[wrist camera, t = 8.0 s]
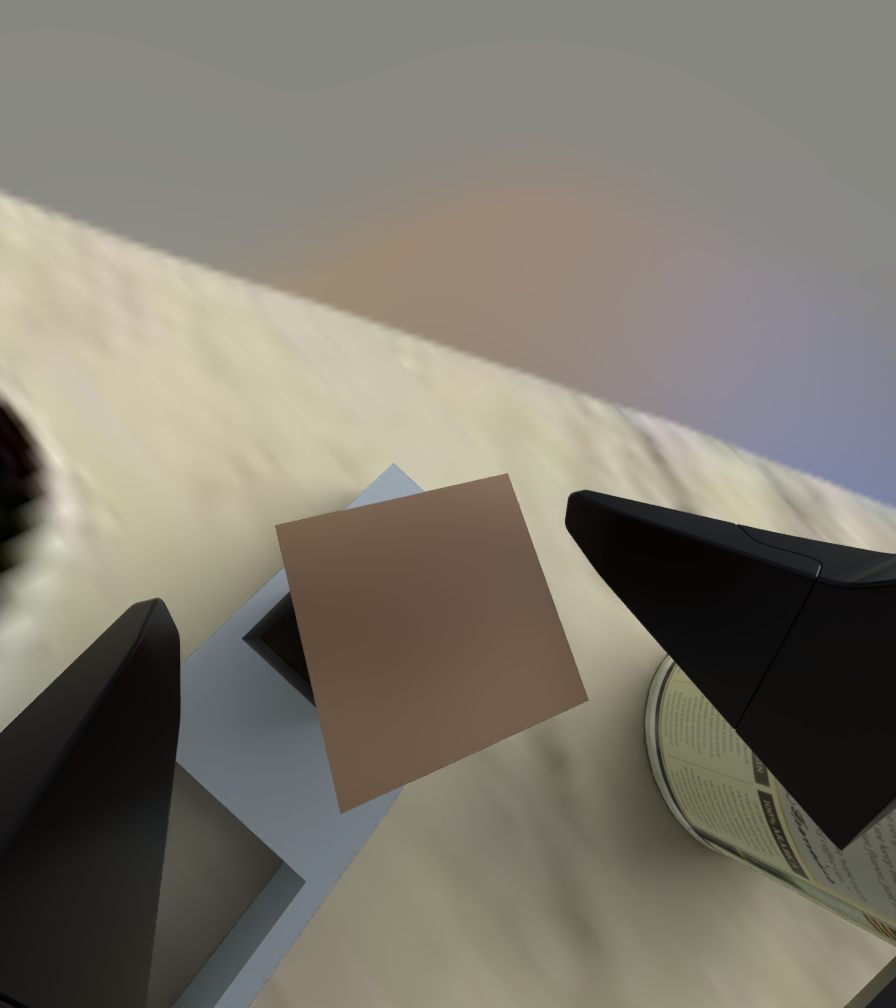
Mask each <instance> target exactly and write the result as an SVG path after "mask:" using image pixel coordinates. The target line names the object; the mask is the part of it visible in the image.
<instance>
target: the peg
mask: <svg viewBox="0 0 896 1008" xmlns="http://www.w3.org/2000/svg"><path fill="white" fill-rule="evenodd" d="M275 527H276V531H277V536H278V540H279V545H280V549H281V553H282V558H283V562H284V567H285V571H286V575H287V580H288V584H289V589H290V593H291V598H292V602H293V606H294V611H295V615H296V620H297V624H298V628H299V633H300V637H301V642H302V646H303V651H304V655H305V659H306V664H307V668H308V673H309V677H310V682H311V686H312V690H313V695H314V699H315V704H316V708H317V712H318V717H319V721H320V726H321V730H322V735H323V739H324V743H325V748H326V752H327V757H328V761H329V765H330V770H331V774H332V779H333V783H334V788H335V792H336V796H337V801H338V805H339V810H340V814H342V813H344V812H347V811H349V810H351V809H353V808H355V807H358V806H360V805H362V804H364V803H366V802H368V801H371V800H373V799H375V798H377V797H379V796H381V795H384V794H386V793H388V792H390V791H392V790H395V789H397V788H399V787H401V786H403V785H405V784H408V783H410V782H412V781H414V780H416V779H419V778H421V777H423V776H425V775H427V774H429V773H432V772H434V771H436V770H438V769H440V768H442V767H445V766H447V765H449V764H451V763H453V762H456V761H458V760H460V759H462V758H464V757H466V756H469V755H471V754H473V753H475V752H477V751H480V750H482V749H484V748H486V747H488V746H490V745H493V744H495V743H497V742H499V741H501V740H503V739H506V738H508V737H510V736H512V735H514V734H517V733H519V732H521V731H523V730H525V729H527V728H530V727H532V726H534V725H536V724H538V723H540V722H543V721H545V720H547V719H549V718H551V717H554V716H556V715H558V714H560V713H562V712H564V711H567V710H569V709H571V708H573V707H575V706H578V705H580V704H582V703H584V702H586V701H588V697H587V695H586V692H585V689H584V686H583V683H582V680H581V678H580V675H579V672H578V669H577V666H576V664H575V661H574V658H573V655H572V652H571V650H570V647H569V644H568V641H567V638H566V636H565V633H564V630H563V627H562V624H561V622H560V619H559V616H558V613H557V610H556V608H555V605H554V602H553V599H552V596H551V593H550V591H549V588H548V585H547V582H546V579H545V577H544V574H543V571H542V568H541V565H540V563H539V560H538V557H537V554H536V551H535V549H534V546H533V543H532V540H531V537H530V535H529V532H528V529H527V526H526V523H525V521H524V518H523V515H522V512H521V509H520V506H519V504H518V501H517V498H516V495H515V492H514V490H513V487H512V484H511V481H510V478H509V476H508V473H507V474H502V475H498V476H493V477H489V478H485V479H480V480H476V481H471V482H467V483H462V484H458V485H453V486H449V487H445V488H440V489H436V490H431V491H427V492H422V493H418V494H413V495H409V496H404V497H400V498H396V499H391V500H387V501H382V502H378V503H373V504H369V505H364V506H360V507H356V508H351V509H347V510H342V511H338V512H333V513H329V514H324V515H320V516H316V517H311V518H307V519H302V520H298V521H293V522H289V523H284V524H280V525H275Z"/></svg>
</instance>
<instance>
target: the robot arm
mask: <svg viewBox="0 0 896 1008" xmlns="http://www.w3.org/2000/svg"><path fill="white" fill-rule="evenodd" d="M565 525H566V528H567V530H568V532H569V533H570V535H571V536H572V538H573V539H574V540H575V542H576V543H577V545H578V546H579V547H580V549H581V550H582V552H583V553H584V554H585V556H586V557H587V559H588V560H589V562H590V563H591V564H592V566H593V567H594V569H595V570H596V571H597V573H598V574H599V575H600V576H601V578H602V579H603V580H604V581H605V582H606V584H607V585H608V586H609V587H610V588H611V589H612V590H613V592H614V593H615V594H616V595H617V596H618V597H619V598H620V600H621V601H622V602H623V603H624V604H625V605H626V607H627V608H628V609H629V610H630V611H631V612H632V613H633V615H634V616H635V617H636V618H637V619H638V620H639V621H640V623H641V624H642V625H643V626H644V627H645V628H646V629H647V631H648V632H649V633H650V634H651V635H652V636H653V638H654V639H655V640H656V641H657V642H658V643H659V644H660V646H661V647H662V648H663V649H664V650H665V651H666V652H667V654H668V655H669V656H670V657H671V658H672V659H673V660H674V662H675V663H676V664H677V665H678V666H679V667H680V669H681V670H682V671H683V672H684V673H685V674H686V675H687V677H688V678H689V679H690V680H691V681H692V682H693V683H694V685H695V686H696V687H697V688H698V689H699V690H700V691H701V693H702V694H703V695H704V696H705V697H706V698H707V700H708V701H709V702H710V703H711V704H712V705H713V706H714V708H715V709H716V710H717V711H718V712H719V713H720V714H721V716H722V717H723V718H724V719H725V720H726V721H727V722H728V724H729V725H730V726H731V727H732V728H733V729H736V730H735V732H736V733H737V734H738V736H739V737H740V738H741V739H742V740H743V741H744V742H745V744H746V745H747V746H748V747H749V748H750V749H751V750H752V752H753V753H754V754H755V755H756V756H757V757H758V759H759V760H760V761H761V762H762V763H763V764H764V765H765V767H766V768H767V769H768V770H769V771H770V772H771V773H772V775H773V776H774V777H775V778H776V779H777V780H778V782H779V783H780V784H781V785H782V786H783V787H784V788H785V790H786V791H787V792H788V793H789V794H790V795H791V796H792V798H793V799H794V800H795V801H796V802H797V803H798V805H799V806H800V807H801V808H802V809H803V810H804V811H805V813H806V814H807V815H808V816H809V817H810V818H811V819H812V821H813V822H814V823H815V824H816V825H817V826H818V828H819V829H820V830H821V831H822V832H823V833H824V834H825V836H826V837H827V838H828V839H829V840H830V841H831V842H832V843H833V844H834V845H835V846H836V847H837V848H838V849H839V850H841V851H843V850H844V849H845V848H847V847H848V846H849V845H850V844H852V843H853V842H854V841H855V840H857V839H858V838H859V837H861V836H862V835H863V834H864V833H866V832H867V831H868V830H869V829H871V828H872V827H873V826H874V825H876V824H877V823H878V822H880V821H881V820H882V819H883V818H885V817H886V816H887V815H888V814H890V813H891V812H892V811H894V810H895V809H896V554H890V553H883V552H876V551H871V550H865V549H860V548H855V547H849V546H844V545H838V544H833V543H828V542H822V541H817V540H811V539H806V538H801V537H796V536H791V535H786V534H781V533H776V532H771V531H767V530H762V529H757V528H753V527H749V526H744V525H740V524H737V525H736V524H734V523H731V522H726V521H722V520H717V519H713V518H709V517H704V516H700V515H695V514H691V513H687V512H682V511H678V510H673V509H669V508H665V507H660V506H656V505H651V504H647V503H642V502H638V501H634V500H629V499H625V498H620V497H616V496H612V495H607V494H603V493H598V492H594V491H590V490H581V491H577V492H573V493H571V494H570V495H569V497H568V502H567V509H566V517H565ZM180 718H181V679H180V638H179V633H178V630H177V627H176V625H175V623H174V621H173V619H172V617H171V615H170V613H169V611H168V609H167V607H166V605H165V603H164V601H163V600H162V599H160V598H154V599H150V600H146V601H142V602H138V603H135V604H133V605H132V606H131V607H130V608H129V609H128V610H127V611H126V612H124V613H123V614H122V615H121V616H120V617H119V618H118V619H117V620H116V621H115V622H114V623H113V624H112V625H111V626H110V627H109V628H108V629H107V630H106V631H105V632H104V633H103V634H102V635H101V636H100V637H99V638H98V639H97V640H96V641H95V642H94V643H93V644H92V645H91V646H89V647H88V648H87V649H86V650H85V651H84V652H83V653H82V654H81V655H80V656H79V657H78V658H77V659H76V660H75V661H74V662H73V663H72V664H71V665H70V666H69V667H68V668H67V669H66V670H65V671H64V672H63V673H62V674H61V675H60V676H59V677H58V678H57V679H56V680H54V681H53V682H52V683H51V684H50V685H49V686H48V687H47V688H46V689H45V690H44V691H43V692H42V693H41V694H40V695H39V696H38V697H37V698H36V699H35V700H34V701H33V702H32V703H31V704H30V705H29V706H28V707H27V708H26V709H25V710H24V711H23V712H22V713H21V714H19V715H18V716H17V717H16V718H15V719H14V720H13V721H12V722H11V723H10V724H9V725H8V726H7V727H6V728H5V729H4V730H3V731H2V732H1V733H0V1008H146V1002H147V994H148V985H149V977H150V969H151V961H152V952H153V944H154V936H155V928H156V919H157V911H158V903H159V895H160V886H161V878H162V870H163V862H164V853H165V845H166V837H167V829H168V820H169V812H170V804H171V796H172V787H173V779H174V771H175V763H176V754H177V746H178V738H179V730H180ZM844 1008H896V956H895V957H894V958H893V959H892V960H891V961H890V962H889V963H888V964H887V965H886V966H885V967H884V968H883V969H882V970H881V971H880V972H879V973H878V974H877V975H876V976H875V977H874V978H873V979H872V980H871V981H870V982H869V983H868V984H867V985H866V986H865V987H864V988H863V989H862V990H861V991H860V992H859V993H858V994H857V995H856V996H855V997H854V998H853V999H852V1000H851V1001H850V1002H849V1003H848V1004H847V1005H846V1006H845V1007H844Z"/></svg>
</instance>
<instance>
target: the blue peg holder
mask: <svg viewBox="0 0 896 1008" xmlns="http://www.w3.org/2000/svg"><path fill="white" fill-rule="evenodd" d="M422 492H425V491H424V490H423V489H421V488H420V487H419V486H418V485H417V484H416V483H415V482H414V481H413V480H412V479H411V478H409V477H408V476H407V475H406V474H405V473H404V472H403V471H402V470H401V469H400V468H399V467H398V466H396V465H395V464H394V463H393V464H392V465H391V466H390V467H389V468H388V469H387V470H386V471H385V472H383V473H382V474H381V475H380V476H379V477H378V478H377V479H376V480H375V481H374V482H373V483H372V484H371V485H370V486H369V487H368V488H367V489H366V490H364V491H363V492H362V493H361V494H360V495H359V496H358V497H357V498H356V499H355V500H354V501H353V502H352V503H351V504H350V505H349V506H348V507H347V508H346V509H344V510H347V509H351V508H356V507H360V506H364V505H369V504H373V503H378V502H382V501H387V500H391V499H396V498H400V497H404V496H409V495H413V494H418V493H422ZM292 605H293V602H292V598H291V593H290V589H289V584H288V580H287V575H286V571H285V567H283V568H282V569H281V570H280V571H279V572H278V573H277V574H276V575H275V576H274V577H273V578H272V579H271V580H270V581H269V582H268V583H267V584H265V585H264V586H263V587H262V588H261V589H260V590H259V591H258V592H257V593H256V594H255V595H254V596H253V597H252V598H251V599H250V600H249V601H248V602H246V603H245V604H244V605H243V606H242V607H241V608H240V609H239V610H238V611H237V612H236V613H235V614H234V615H233V616H232V617H231V618H230V619H229V620H228V621H226V622H225V623H224V624H223V625H222V626H221V627H220V628H219V629H218V630H217V631H216V632H215V633H214V634H213V635H212V636H211V637H210V638H209V639H208V640H206V641H205V642H204V643H203V644H202V645H201V646H200V647H199V648H198V649H197V650H196V651H195V652H194V653H193V654H192V655H191V656H190V657H189V658H187V659H186V660H185V661H184V662H183V663H182V664H181V665H180V679H181V718H180V730H179V738H178V746H177V754H176V762H177V763H178V764H179V765H181V766H182V767H183V768H184V769H185V770H186V771H187V772H188V773H189V774H190V775H191V776H192V777H194V778H195V779H196V780H197V781H198V782H199V783H200V784H201V785H202V786H203V787H204V788H205V789H207V790H208V791H209V792H210V793H211V794H212V795H213V796H214V797H215V798H216V799H217V800H218V801H220V802H221V803H222V804H223V805H224V806H225V807H226V808H227V809H228V810H229V811H230V812H231V813H233V814H234V815H235V816H236V817H237V818H238V819H239V820H240V821H241V822H242V823H243V824H244V825H245V826H247V827H248V828H249V829H250V830H251V831H252V832H253V833H254V834H255V835H256V836H257V837H258V838H260V839H261V840H262V841H263V842H264V843H265V844H266V845H267V846H268V847H269V848H270V849H271V850H273V851H274V852H275V853H276V854H277V855H278V856H279V857H280V858H281V859H282V860H283V861H284V862H283V864H282V865H281V866H280V868H279V869H278V870H277V871H276V873H275V874H274V875H273V877H272V878H271V879H270V881H269V882H268V883H267V884H266V886H265V887H264V888H263V890H262V891H261V892H260V894H259V895H258V896H257V897H256V899H255V900H254V901H253V903H252V904H251V905H250V907H249V908H248V909H247V910H246V912H245V913H244V914H243V916H242V917H241V918H240V919H239V921H238V922H237V923H236V925H235V926H234V927H233V929H232V930H231V931H230V932H229V934H228V935H227V936H226V938H225V939H224V940H223V942H222V943H221V944H220V945H219V947H218V948H217V949H216V951H215V952H214V953H213V955H212V956H211V957H210V958H209V960H208V961H207V962H206V964H205V965H204V966H203V967H202V969H201V970H200V971H199V973H198V974H197V975H196V977H195V978H194V979H193V980H192V982H191V983H190V984H189V986H188V987H187V988H186V990H185V991H184V992H183V993H182V995H181V996H180V997H179V999H178V1000H177V1001H176V1003H175V1004H174V1005H173V1006H172V1008H248V1007H249V1005H250V1004H251V1003H252V1001H253V1000H254V998H255V997H256V996H257V994H258V993H259V991H260V990H261V988H262V987H263V986H264V984H265V983H266V981H267V980H268V979H269V977H270V976H271V974H272V973H273V972H274V970H275V969H276V967H277V966H278V965H279V963H280V962H281V960H282V959H283V957H284V956H285V955H286V953H287V952H288V950H289V949H290V948H291V946H292V945H293V943H294V942H295V941H296V939H297V938H298V936H299V935H300V934H301V932H302V931H303V929H304V928H305V926H306V925H307V924H308V922H309V921H310V919H311V918H312V917H313V915H314V914H315V912H316V911H317V910H318V908H319V907H320V905H321V904H322V903H323V901H324V900H325V898H326V897H327V895H328V894H329V893H330V891H331V890H332V888H333V887H334V886H335V884H336V883H337V881H338V880H339V879H340V877H341V876H342V874H343V873H344V872H345V870H346V869H347V867H348V866H349V864H350V863H351V862H352V860H353V859H354V857H355V856H356V855H357V853H358V852H359V850H360V849H361V848H362V846H363V845H364V843H365V842H366V841H367V839H368V838H369V836H370V835H371V833H372V832H373V831H374V829H375V828H376V826H377V825H378V824H379V822H380V821H381V819H382V818H383V817H384V815H385V814H386V812H387V811H388V810H389V808H390V807H391V805H392V804H393V802H394V801H395V800H396V798H397V797H398V795H399V794H400V793H401V791H402V790H403V788H404V787H405V786H406V784H405V785H403V786H401V787H399V788H397V789H395V790H392V791H390V792H388V793H386V794H384V795H381V796H379V797H377V798H375V799H373V800H371V801H368V802H366V803H364V804H362V805H360V806H358V807H355V808H353V809H351V810H349V811H347V812H344V813H342V814H340V810H339V805H338V801H337V796H336V792H335V788H334V783H333V779H332V774H331V770H330V765H329V761H328V757H327V752H326V748H325V743H324V739H323V735H322V730H321V726H320V721H319V717H318V712H317V708H316V704H315V699H314V695H313V690H312V687H311V686H310V685H309V684H308V683H307V682H306V681H305V680H304V679H303V678H302V677H300V676H299V675H298V674H297V673H296V672H295V671H294V670H293V669H292V668H291V667H290V666H289V665H287V664H286V663H285V662H284V661H283V660H282V659H281V658H280V657H279V656H278V655H277V654H276V653H274V652H273V651H272V650H271V649H270V648H269V647H268V646H267V645H266V644H265V643H264V642H263V641H261V640H260V639H259V638H260V637H261V636H262V635H263V634H264V633H265V632H266V631H267V630H268V629H269V628H270V627H271V626H272V625H273V624H274V623H275V622H276V621H277V620H278V619H279V618H280V617H281V616H282V615H283V614H284V613H285V612H286V611H287V610H288V609H289V608H290V607H291V606H292Z"/></svg>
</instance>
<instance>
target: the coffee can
mask: <svg viewBox="0 0 896 1008" xmlns="http://www.w3.org/2000/svg"><path fill="white" fill-rule="evenodd" d="M735 730H736V729H733V728H732V727H731V726H730V725H729V724H728V722H727V721H726V720H725V719H724V718H723V717H722V716H721V714H720V713H719V712H718V711H717V710H716V709H715V708H714V706H713V705H712V704H711V703H710V702H709V701H708V700H707V698H706V697H705V696H704V695H703V694H702V693H701V691H700V690H699V689H698V688H697V687H696V686H695V685H694V683H693V682H692V681H691V680H690V679H689V678H688V677H687V675H686V674H685V673H684V672H683V671H682V670H681V669H680V667H679V666H678V665H677V664H676V663H675V662H674V660H673V659H672V658H671V657H670V656H669V655H668V656H667V657H666V659H665V660H664V661H663V662H662V664H661V666H660V667H659V669H658V671H657V673H656V675H655V677H654V679H653V681H652V683H651V687H650V690H649V696H648V702H647V706H646V715H645V731H646V743H647V750H648V755H649V760H650V763H651V767H652V771H653V775H654V778H655V780H656V782H657V784H658V786H659V789H660V791H661V793H662V795H663V798H664V799H665V801H666V803H667V805H668V806H669V808H670V810H671V812H672V813H673V814H674V816H675V817H676V819H677V820H678V821H679V822H680V823H681V825H682V826H683V827H684V828H685V829H686V830H687V831H688V832H689V833H690V834H691V835H692V836H693V837H694V838H696V839H697V840H698V841H699V842H701V843H702V844H703V845H704V846H706V847H708V848H710V849H712V850H714V851H716V852H719V853H721V854H724V855H727V856H729V857H731V858H733V859H735V860H737V861H739V862H740V863H742V864H744V865H746V866H748V867H750V868H751V869H753V870H755V871H757V872H759V873H761V874H763V875H764V876H766V877H768V878H770V879H772V880H774V881H776V882H777V883H779V884H781V885H783V886H785V887H787V888H788V889H790V890H792V891H794V892H796V893H798V894H799V895H801V896H803V897H805V898H807V899H809V900H811V901H812V902H814V903H816V904H818V905H820V906H822V907H823V908H825V909H827V910H829V911H831V912H833V913H834V914H836V915H838V916H840V917H842V918H844V919H845V920H847V921H849V922H851V923H853V924H855V925H856V926H858V927H860V928H862V929H864V930H866V931H868V932H869V933H871V934H873V935H875V936H877V937H879V938H880V939H882V940H884V941H886V942H888V943H890V944H891V945H893V946H895V947H896V809H895V810H894V811H892V812H891V813H890V814H888V815H887V816H886V817H885V818H883V819H882V820H881V821H880V822H878V823H877V824H876V825H874V826H873V827H872V828H871V829H869V830H868V831H867V832H866V833H864V834H863V835H862V836H861V837H859V838H858V839H857V840H855V841H854V842H853V843H852V844H850V845H849V846H848V847H847V848H845V849H844V850H843V851H841V850H839V849H838V848H837V847H836V846H835V845H834V844H833V843H832V842H831V841H830V840H829V839H828V838H827V837H826V836H825V834H824V833H823V832H822V831H821V830H820V829H819V828H818V826H817V825H816V824H815V823H814V822H813V821H812V819H811V818H810V817H809V816H808V815H807V814H806V813H805V811H804V810H803V809H802V808H801V807H800V806H799V805H798V803H797V802H796V801H795V800H794V799H793V798H792V796H791V795H790V794H789V793H788V792H787V791H786V790H785V788H784V787H783V786H782V785H781V784H780V783H779V782H778V780H777V779H776V778H775V777H774V776H773V775H772V773H771V772H770V771H769V770H768V769H767V768H766V767H765V765H764V764H763V763H762V762H761V761H760V760H759V759H758V757H757V756H756V755H755V754H754V753H753V752H752V750H751V749H750V748H749V747H748V746H747V745H746V744H745V742H744V741H743V740H742V739H741V738H740V737H739V736H738V734H737V733H736V732H735Z"/></svg>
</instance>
